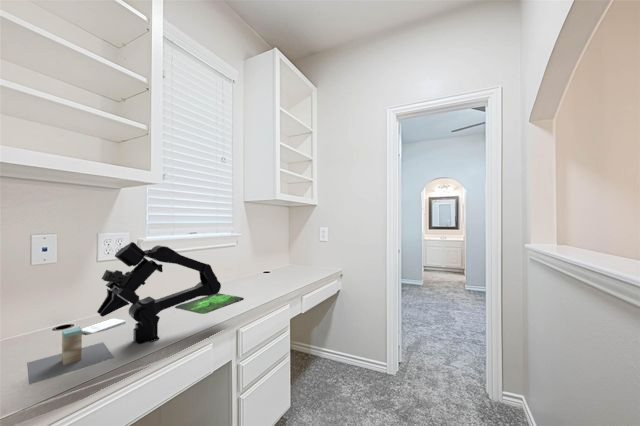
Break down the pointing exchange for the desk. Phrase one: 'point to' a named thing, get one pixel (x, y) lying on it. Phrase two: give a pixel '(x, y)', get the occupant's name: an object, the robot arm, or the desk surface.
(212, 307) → the mouse mat
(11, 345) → the desk surface
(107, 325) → the external hard drive
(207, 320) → the desk surface
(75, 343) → the birch block
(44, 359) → the rubber mat
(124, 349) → the desk surface
